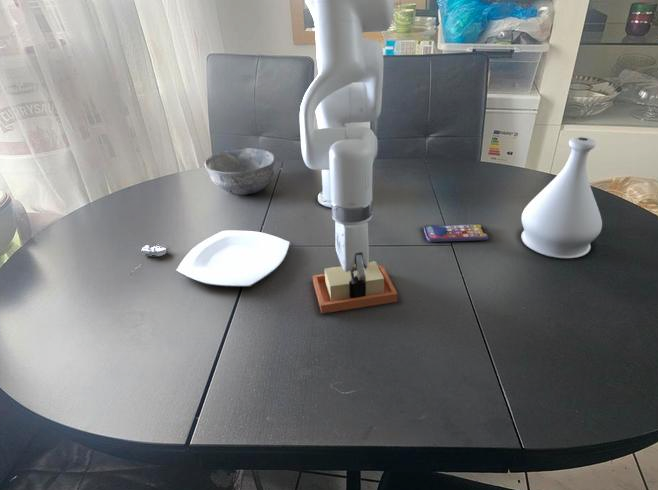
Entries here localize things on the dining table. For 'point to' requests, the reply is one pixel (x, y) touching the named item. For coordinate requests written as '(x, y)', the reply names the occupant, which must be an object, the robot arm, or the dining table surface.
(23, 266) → the dining table surface
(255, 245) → the plate
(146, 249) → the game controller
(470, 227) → the smartphone
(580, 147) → the vase
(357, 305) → the shallow tray
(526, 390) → the dining table surface
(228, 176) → the bowl
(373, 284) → the foam pad
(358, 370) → the dining table surface
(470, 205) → the dining table surface
